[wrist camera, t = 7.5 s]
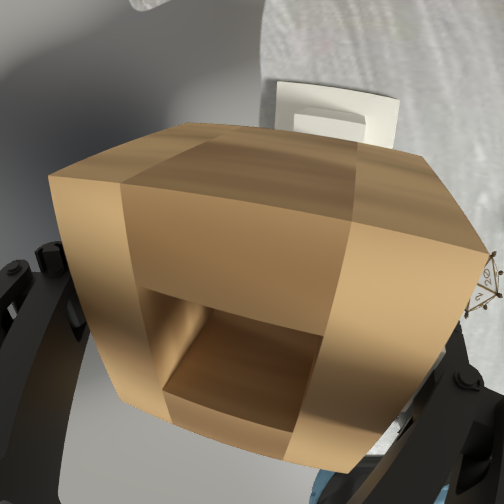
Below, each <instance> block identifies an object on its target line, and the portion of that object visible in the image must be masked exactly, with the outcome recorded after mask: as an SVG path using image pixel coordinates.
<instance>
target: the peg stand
mask: <svg viewBox="0 0 504 504" xmlns="http://www.w3.org/2000/svg"><path fill="white" fill-rule="evenodd" d="M399 103H400V100H398V99H394V98H390V97H385V96H380V95H375V94H370V93H365V92H359V91H354V90H348V89H341V88H335V87H328V86H320V85H312V84H303V83H293V82H282V81H277V94H276V110H275V126H274V129H277V130H285V131H293V132H300V133H307V134H314V135H320V136H327V137H333V138H339V139H344V140H350V141H355V142H360V143H365V144H370V145H375V146H380V147H384V148H389V149H393V143H394V137H395V131H396V124H397V118H398V110H399Z"/></svg>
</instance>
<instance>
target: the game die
mask: <svg viewBox="0 0 504 504" xmlns="http://www.w3.org/2000/svg"><path fill="white" fill-rule="evenodd" d="M495 255H496V251H495V252H493V253H492V255H489V257H488V260H487V262H486V265H485V267H484V269H483V272H482V274H481V276H480V278H479V281H478V283H477V285H476V287H475V289H474V291H473V293H472V296H471V298H470V300H469V302H468V304H467V306H466V308H465V311H466V313H465V315H464V316H465V319H466V318H467V317H468V315H469V314H468V312H470V311H472V310H475V309H477V308H480V307H482V306H483V308H484V309H485V310H487V305H486V304H487V303H488V302H489V301H491V300H492V299H493V298H494V297H495V296H498V297H499V298H503V297H502V294H500V293H498V282H499V275H502V274H503V271H502V270H501V271H499V272H498V270H497V267H496V264H495V262H494V259H493V257H495Z"/></svg>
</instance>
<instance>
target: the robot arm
mask: <svg viewBox="0 0 504 504" xmlns="http://www.w3.org/2000/svg"><path fill="white" fill-rule="evenodd" d="M35 255H36V258H37V261H38V265H39V268H40V270H41V272H31V269H30V266H29V263H28V262H27V261H26V260H16V261H12V262H11V263H9V264H7V265H6V266H5V267H4V268H3V269H2V270H1V271H0V504H61V503H60V500H59V497H58V485H59V476H60V469H61V461H62V455H63V448H64V441H65V436H66V431H67V425H68V420H69V414H70V410H71V405H72V401H73V396H74V392H75V388H76V383H77V379H78V375H79V371H80V367H81V363H82V360H83V355H84V352H85V348H86V344H87V341H88V338H89V334H90V328H89V326H88V323H87V320H86V318H85V315H84V312H83V309H82V306H81V304H80V301H79V298H78V295H77V292H76V288H75V285H74V282H73V279H72V276H71V272H70V269H69V266H68V262H67V259H66V255H65V251H64V248H63V244H62V241H55V242H50V243H47V244H44V245H42V246H41V247H39V248H38V249H37V250H36V251H35ZM11 303H12V305H13V307H14V310H15V312H16V314H17V316H16V318H14V319H12V318H11V316H10V313H9V311H8V309H7V307H8V306H9V305H10V304H11ZM398 422H399V426H400V430H399V431H398V432H397V433H399V435H398V436H397V438H396V439H395V441H394V442H393V444H392V445H391V446H390V448H389V449H388V451H387V452H386V454H384V455H365V456H364V457H363V458H362V459H361V460H360V461H359V462H358V464H357V465H356V466H355V467H354V468H353V469H352V470H351V471H350V472H349V473H348V474H346V473H340V472H334V471H328V470H323V469H320V470H319V472H318V474H317V477H316V479H315V482H314V484H313V487H312V493H311V496H310V500H309V504H504V395H501V394H499V393H497V392H495V391H492V390H490V389H488V388H486V387H484V381H483V378H482V376H481V374H480V373H479V371H478V370H477V369H476V368H474V367H473V366H472V365H470V364H469V360H468V355H467V350H466V346H465V341H464V337H463V334H462V329H461V325H460V321H458V323H457V325H456V327H455V328H454V330H453V332H452V334H451V336H450V337H449V339H448V341H447V343H446V344H445V346H444V348H443V349H442V351H441V353H440V354H439V356H438V358H437V359H436V361H435V362H434V364H433V366H432V367H431V369H430V370H429V372H428V373H427V375H426V376H425V378H424V379H423V381H422V382H421V384H420V385H419V387H418V388H417V390H416V391H415V393H414V394H413V395H412V397H411V398H410V400H409V401H408V402H407V404H406V405H405V407H404V408H403V409H402V411H401V412H400V413H399V415H398Z"/></svg>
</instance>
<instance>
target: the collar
mask: <svg viewBox="0 0 504 504" xmlns="http://www.w3.org/2000/svg"><path fill="white" fill-rule="evenodd" d="M48 178H49V184H50V190H51V195H52V200H53V205H54V210H55V214H56V218H57V223H58V227H59V232H60V236H61V240H62V244H63V248H64V251H65V255H66V259H67V262H68V266H69V269H70V272H71V276H72V279H73V282H74V285H75V288H76V292H77V295H78V298H79V301H80V304H81V306H82V309H83V312H84V315H85V318H86V320H87V323H88V326H89V328H90V331H91V334H92V336H93V339H94V341H95V344H96V346H97V348H98V351H99V354H100V356H101V358H102V360H103V363H104V365H105V367H106V370H107V372H108V374H109V376H110V378H111V380H112V383H113V385H114V387H115V389H116V391H117V393H118V395H119V398H120V399H121V400H122V401H124V402H126V403H128V404H130V405H132V406H134V407H136V408H138V409H140V410H142V411H144V412H146V413H149V414H151V415H153V416H155V417H157V418H160V419H162V420H164V421H167V422H169V423H171V424H174V425H176V426H179V427H181V428H183V429H186V430H189V431H191V432H194V433H197V434H199V435H202V436H204V437H207V438H210V439H213V440H216V441H219V442H221V443H224V444H227V445H230V446H233V447H237V448H240V449H243V450H246V451H249V452H253V453H256V454H260V455H263V456H267V457H271V458H274V459H278V460H282V461H286V462H291V463H295V464H299V465H304V466H309V467H313V468H318V469H323V470H328V471H334V472H340V473H346V474H348V473H349V472H350V471H351V470H352V469H353V468H354V467H355V466H356V465H357V464H358V462H359V461H360V460H361V459H362V458H363V457H364V456H365V455H366V454H367V452H368V451H369V450H370V449H371V448H372V447H373V446H374V444H375V443H376V442H377V441H378V440H379V438H380V437H381V436H382V435H383V434H384V432H385V431H386V430H387V429H388V427H389V426H390V425H391V424H392V422H393V421H394V420H395V418H396V417H397V416H398V415H399V413H400V412H401V411H402V409H403V408H404V407H405V405H406V404H407V402H408V401H409V400H410V398H411V397H412V395H413V394H414V393H415V391H416V390H417V388H418V387H419V385H420V384H421V382H422V381H423V379H424V378H425V376H426V375H427V373H428V372H429V370H430V369H431V367H432V366H433V364H434V362H435V361H436V359H437V358H438V356H439V354H440V353H441V351H442V349H443V348H444V346H445V344H446V343H447V341H448V339H449V337H450V336H451V334H452V332H453V330H454V328H455V327H456V325H457V323H458V321H459V319H460V317H461V315H462V314H463V312H464V310H465V308H466V306H467V304H468V302H469V300H470V298H471V296H472V293H473V291H474V289H475V287H476V285H477V283H478V281H479V278H480V276H481V274H482V272H483V269H484V267H485V265H486V262H487V260H488V257H489V255H490V254H489V253H488V251H487V249H486V247H485V246H484V244H483V242H482V241H481V239H480V237H479V236H478V234H477V233H476V231H475V229H474V228H473V226H472V225H471V223H470V222H469V220H468V219H467V217H466V215H465V214H464V212H463V211H462V210H461V208H460V207H459V205H458V204H457V202H456V201H455V199H454V198H453V197H452V195H451V194H450V192H449V191H448V190H447V188H446V187H445V185H444V184H443V183H442V181H441V180H440V179H439V177H438V176H437V175H436V174H435V172H434V171H433V170H432V168H431V167H430V166H429V165H428V163H427V162H426V161H425V160H424V158H423V157H422V156H418V155H414V154H410V153H406V152H402V151H398V150H393V149H389V148H384V147H380V146H375V145H370V144H365V143H360V142H355V141H350V140H344V139H339V138H333V137H327V136H320V135H314V134H307V133H300V132H293V131H285V130H277V129H268V128H259V127H248V126H237V125H224V124H208V123H184V124H181V125H178V126H175V127H171V128H168V129H165V130H162V131H159V132H156V133H153V134H150V135H147V136H144V137H141V138H138V139H135V140H133V141H130V142H127V143H125V144H122V145H119V146H116V147H114V148H111V149H109V150H106V151H104V152H101V153H98V154H96V155H94V156H91V157H89V158H87V159H84V160H82V161H79V162H77V163H75V164H73V165H70V166H68V167H66V168H64V169H61V170H59V171H57V172H55V173H52V174H51V175H48Z"/></svg>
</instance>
